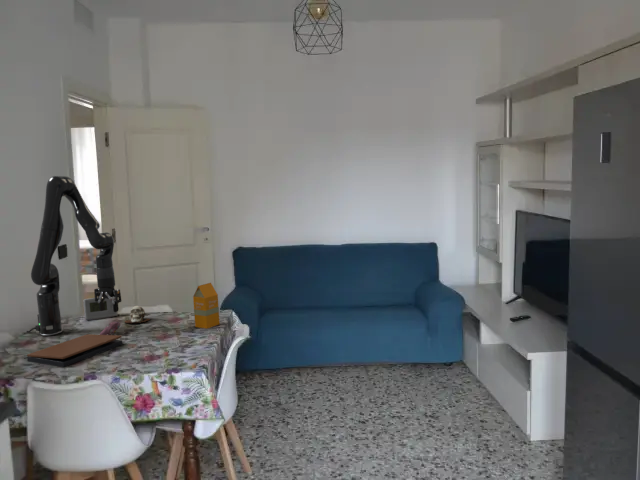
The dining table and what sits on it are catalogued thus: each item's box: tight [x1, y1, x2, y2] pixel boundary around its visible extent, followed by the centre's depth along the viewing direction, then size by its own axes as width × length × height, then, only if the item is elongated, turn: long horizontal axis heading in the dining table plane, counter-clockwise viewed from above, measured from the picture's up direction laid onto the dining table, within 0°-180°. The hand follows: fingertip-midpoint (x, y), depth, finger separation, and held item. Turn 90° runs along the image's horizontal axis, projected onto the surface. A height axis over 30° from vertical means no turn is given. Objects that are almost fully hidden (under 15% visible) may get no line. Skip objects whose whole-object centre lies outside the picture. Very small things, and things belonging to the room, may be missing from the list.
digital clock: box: [82, 296, 119, 321], centre depth 294 cm, size 16×9×11 cm, turn 103°
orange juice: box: [192, 282, 221, 330], centre depth 269 cm, size 8×9×20 cm
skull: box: [124, 305, 151, 324], centre depth 283 cm, size 12×10×10 cm
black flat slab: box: [26, 339, 123, 368], centre depth 236 cm, size 21×30×2 cm
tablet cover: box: [26, 333, 123, 359], centre depth 236 cm, size 21×30×1 cm
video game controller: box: [99, 320, 121, 335], centre depth 261 cm, size 10×5×7 cm, turn 168°
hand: (109, 311), depth 260 cm, fingers open, 8 cm apart
